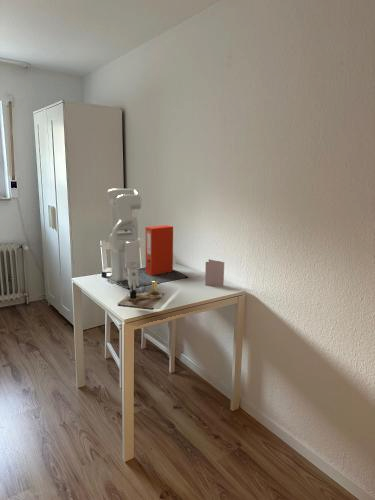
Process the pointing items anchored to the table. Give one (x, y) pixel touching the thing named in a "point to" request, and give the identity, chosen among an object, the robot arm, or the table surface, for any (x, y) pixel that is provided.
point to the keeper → (142, 289)
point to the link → (145, 295)
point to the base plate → (140, 302)
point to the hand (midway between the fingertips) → (133, 298)
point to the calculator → (106, 272)
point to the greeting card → (214, 273)
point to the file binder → (159, 249)
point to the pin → (154, 287)
